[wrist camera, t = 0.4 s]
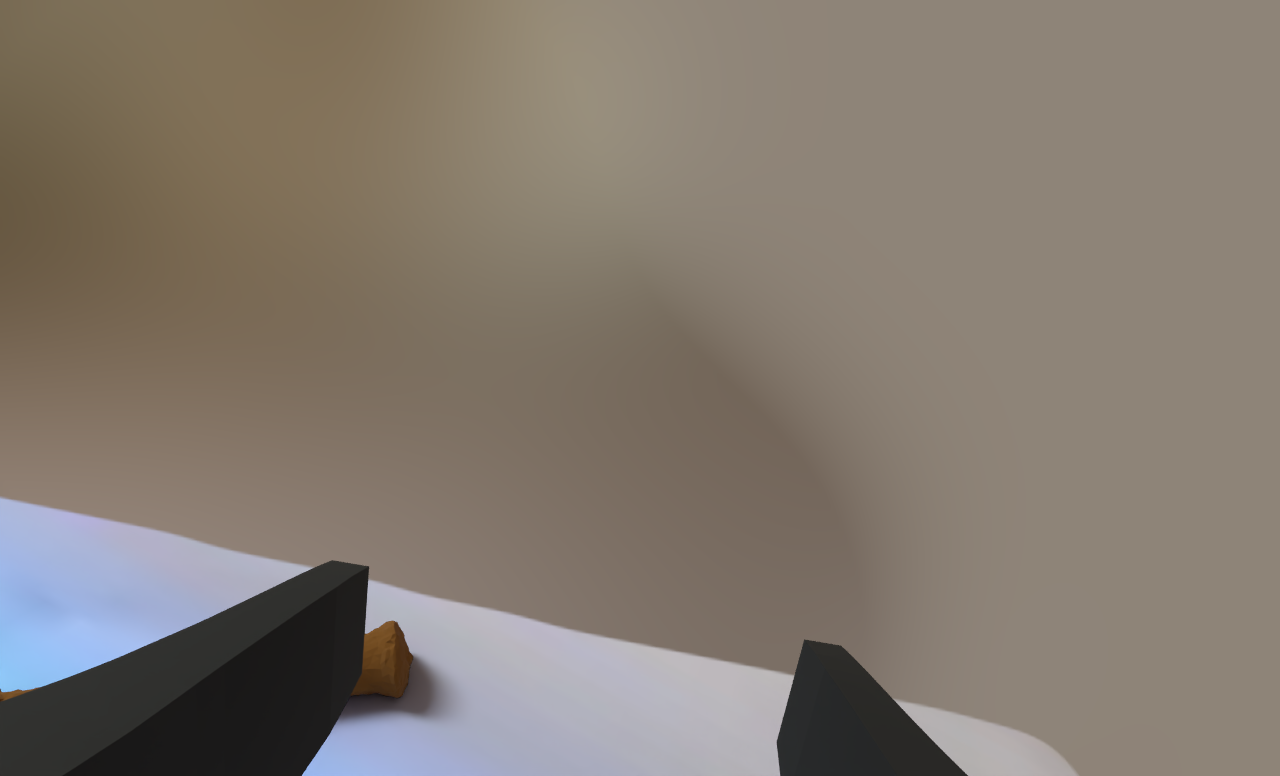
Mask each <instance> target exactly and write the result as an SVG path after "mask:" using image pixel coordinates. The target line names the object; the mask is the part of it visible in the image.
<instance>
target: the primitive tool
mask: <svg viewBox="0 0 1280 776" xmlns="http://www.w3.org/2000/svg"><path fill="white" fill-rule="evenodd" d="M412 660H413V655H412V654H411V653H410V652H409V648H408V646H407V643H406V641H405V638H404V633H403V632H402V630H401V629H400V627H399V625H398V623H397V622H395V621H389V622H386V623H384V624H383V625H382V626H380V627H379V628H376V629H374V630H373V631H371V632H370V633H368V634H365V635H364V650H363V665H362V674H361V676H360V678H359V680H358V682H357V684H356V686H355V688H354V690H353V692H352V693H351V695H350V696H353V695H357V696H358V695H360V694H367V695H369V694H373V693H379V694H382V695H384V696H392V697H395V698H399V697H401V696H402V695H403V693H404V690H405V688H406V687H407V685H408V678H409V669H410V665H411V663H412ZM39 688H40V687H39ZM35 689H38V688H35ZM35 689H31V690H25V691H22V690H15V691H12V692H4V693H3V692H1V689H0V702H1V701H4V700H7V699H10V698H13V697H15V696H18V695H21V694H24V693H27V692H29V691H32V690H35Z"/></svg>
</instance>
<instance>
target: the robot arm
mask: <svg viewBox="0 0 1280 776" xmlns="http://www.w3.org/2000/svg"><path fill="white" fill-rule="evenodd" d="M368 573H369V566H362V565H357V564H351V563H344V562H339V561H329V562H327V563H324V564H322V565H320V566H317V567H315V568H313V569H311V570H308V571H306V572H304V573H302V574H300V575H298V576H296V577H294V578H291V579H289V580H287V581H285V582H283V583H281V584H279V585H277V586H275V587H273V588H271V589H269V590H267V591H265V592H263V593H260V594H258V595H256V596H254V597H252V598H250V599H248V600H246V601H244V602H242V603H239V604H237V605H235V606H233V607H231V608H229V609H227V610H225V611H223V612H221V613H218V614H216V615H214V616H212V617H210V618H208V619H206V620H204V621H201V622H199V623H197V624H195V625H192V626H190V627H188V628H186V629H183V630H181V631H179V632H176V633H174V634H172V635H169V636H167V637H165V638H163V639H160V640H158V641H156V642H153V643H151V644H149V645H146V646H144V647H142V648H140V649H137V650H135V651H133V652H130V653H128V654H126V655H124V656H121V657H119V658H116V659H114V660H111V661H109V662H106V663H104V664H101V665H99V666H96V667H94V668H91V669H89V670H86V671H84V672H81V673H78V674H76V675H73V676H71V677H68V678H65V679H62V680H60V681H57V682H54V683H51V684H49V685H46V686H43V687H40V688H38V689H35V690H32V691H29V692H27V693H24V694H21V695H18V696H15V697H13V698H10V699H7V700H4V701H1V702H0V776H302V774H303V773H304V771H305V770H306V768H307V767H308V765H309V764H310V762H311V761H312V760H313V758H314V757H315V755H316V754H317V752H318V751H319V749H320V748H321V746H322V745H323V743H324V742H325V740H326V739H327V737H328V736H329V734H330V733H331V731H332V729H333V727H334V725H335V723H336V722H337V720H338V718H339V716H340V714H341V712H342V711H343V709H344V707H345V705H346V703H347V701H348V699H349V697H350V695H351V693H352V692H353V690H354V688H355V686H356V684H357V682H358V680H359V678H360V676H361V674H362V665H363V650H364V635H365V620H366V604H367V589H368ZM777 749H778V758H779V767H780V776H968V775H967V774H966V773H965V772H964V771H963V770H962V769H961V768H959V767H958V766H957V765H956V764H955V763H954V762H953V761H952V760H951V759H950V758H949V757H948V756H947V755H946V754H945V753H944V752H943V751H942V750H941V749H940V748H939V747H938V746H937V745H936V744H935V743H934V742H933V741H932V740H931V738H930V737H929V736H928V735H927V734H926V733H925V732H924V731H923V730H922V729H921V728H920V727H919V726H918V725H917V724H916V723H915V722H914V721H913V720H912V719H911V718H910V717H909V716H908V715H907V714H906V712H905V711H904V710H903V709H902V708H901V707H900V706H899V705H898V704H897V703H896V702H895V701H894V700H893V699H892V698H891V697H890V696H889V695H888V693H887V692H886V691H885V690H884V689H883V688H882V687H881V686H880V685H879V684H878V683H877V682H876V681H875V680H874V679H873V678H872V676H871V675H870V674H869V673H868V672H867V671H866V670H865V669H864V668H863V667H862V666H861V665H860V664H859V663H858V662H857V661H856V660H855V659H854V658H853V657H852V656H851V655H850V654H849V653H848V652H847V651H846V650H845V649H844V648H843V647H842V646H839V645H833V644H827V643H821V642H816V641H809V640H804V643H803V647H802V650H801V654H800V658H799V661H798V665H797V669H796V672H795V676H794V680H793V684H792V687H791V691H790V695H789V698H788V702H787V706H786V710H785V713H784V717H783V721H782V724H781V728H780V732H779V736H778V739H777Z"/></svg>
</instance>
